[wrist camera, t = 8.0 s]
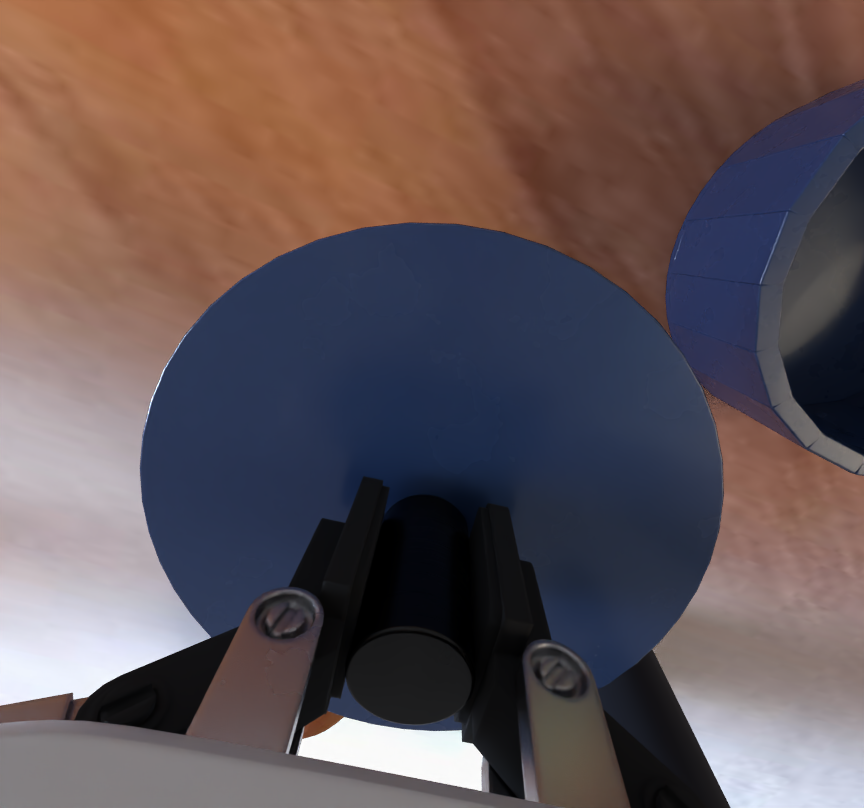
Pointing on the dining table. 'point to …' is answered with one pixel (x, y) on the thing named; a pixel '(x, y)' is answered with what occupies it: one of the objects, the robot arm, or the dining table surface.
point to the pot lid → (435, 451)
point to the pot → (782, 279)
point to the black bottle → (661, 726)
